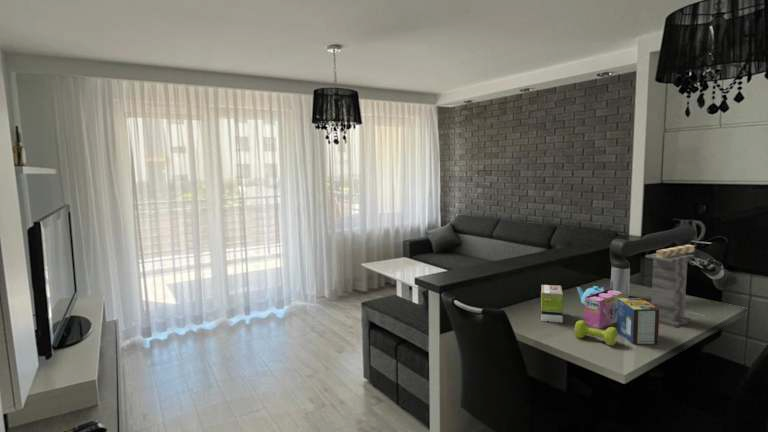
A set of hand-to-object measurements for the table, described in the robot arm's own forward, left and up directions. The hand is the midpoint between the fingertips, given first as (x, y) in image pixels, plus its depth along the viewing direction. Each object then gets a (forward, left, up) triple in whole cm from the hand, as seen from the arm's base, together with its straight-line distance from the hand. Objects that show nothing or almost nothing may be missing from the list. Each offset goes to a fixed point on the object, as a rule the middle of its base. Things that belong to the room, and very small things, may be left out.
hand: (698, 257), depth 215 cm
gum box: (-38, -38, -28) cm, 61 cm away
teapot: (-45, -15, -28) cm, 55 cm away
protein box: (-25, -53, -28) cm, 65 cm away
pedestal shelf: (-13, -22, -28) cm, 38 cm away
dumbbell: (-40, -65, -28) cm, 81 cm away
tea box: (-62, -44, -28) cm, 81 cm away
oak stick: (-11, -18, +4) cm, 22 cm away
